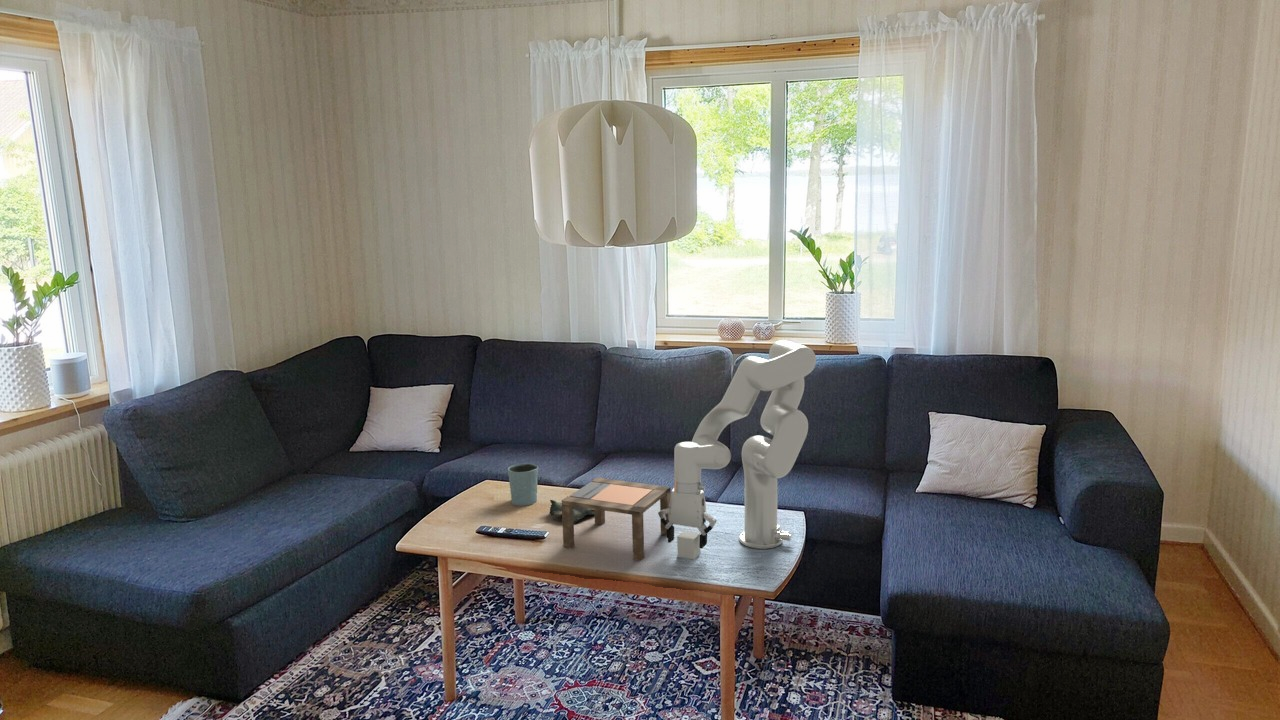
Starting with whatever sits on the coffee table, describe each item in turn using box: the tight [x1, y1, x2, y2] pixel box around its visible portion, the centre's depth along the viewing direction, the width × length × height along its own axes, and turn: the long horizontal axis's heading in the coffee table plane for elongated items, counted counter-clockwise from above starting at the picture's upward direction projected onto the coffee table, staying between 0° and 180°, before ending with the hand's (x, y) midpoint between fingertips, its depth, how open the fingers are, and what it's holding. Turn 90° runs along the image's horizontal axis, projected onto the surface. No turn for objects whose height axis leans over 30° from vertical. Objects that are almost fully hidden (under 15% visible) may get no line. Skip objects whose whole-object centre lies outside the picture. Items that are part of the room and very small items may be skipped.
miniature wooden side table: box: [561, 477, 671, 562], centre depth 250 cm, size 25×22×14 cm
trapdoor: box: [569, 481, 653, 511], centre depth 250 cm, size 21×14×4 cm
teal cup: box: [507, 462, 539, 507], centre depth 285 cm, size 10×10×12 cm
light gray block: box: [676, 530, 701, 560], centre depth 239 cm, size 5×5×6 cm
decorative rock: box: [548, 499, 594, 526], centre depth 273 cm, size 19×6×15 cm
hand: (686, 543), depth 239 cm, fingers open, 9 cm apart
